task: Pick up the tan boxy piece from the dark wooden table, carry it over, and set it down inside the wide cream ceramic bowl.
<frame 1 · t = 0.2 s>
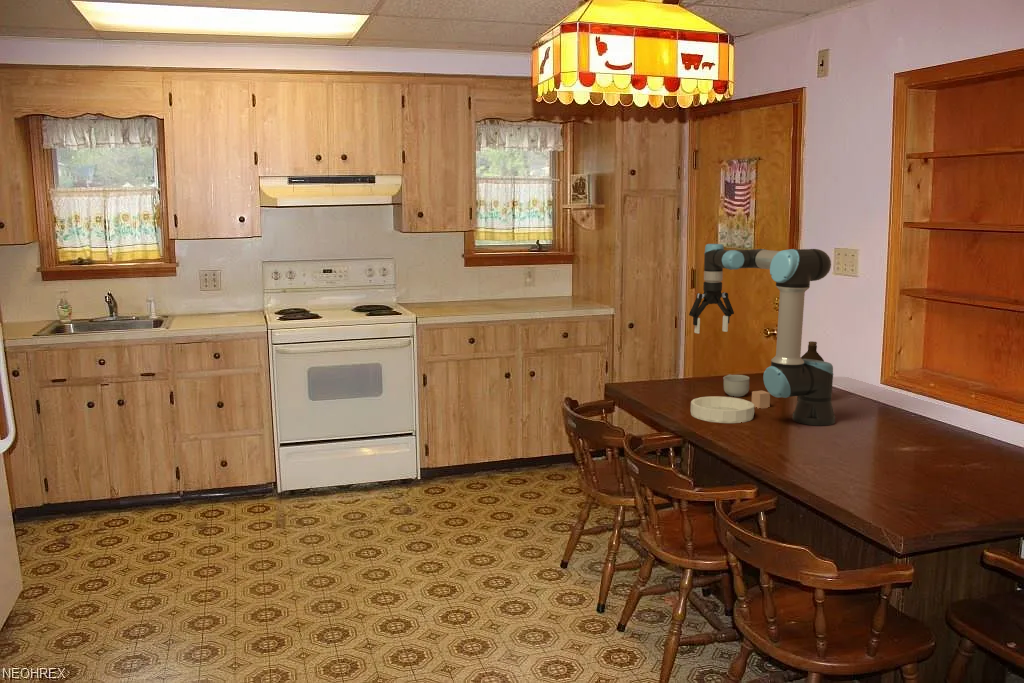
hand: (710, 332, 364), 27 cm above the table, fingers open, 13 cm apart
bowl: (721, 415, 337), on the table
tan boxy piece: (760, 406, 351), on the table
olive oil: (809, 402, 359), on the table
teacup: (734, 394, 373), on the table
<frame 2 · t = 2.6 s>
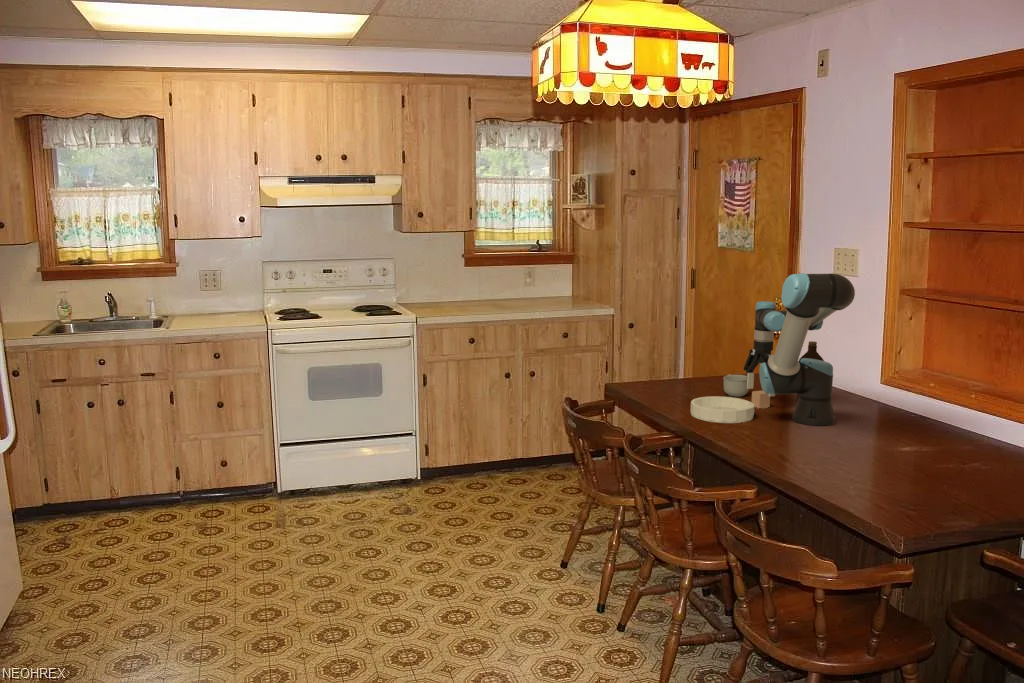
hand: (760, 392, 351), 6 cm above the table, fingers open, 13 cm apart
nothing on the table moved.
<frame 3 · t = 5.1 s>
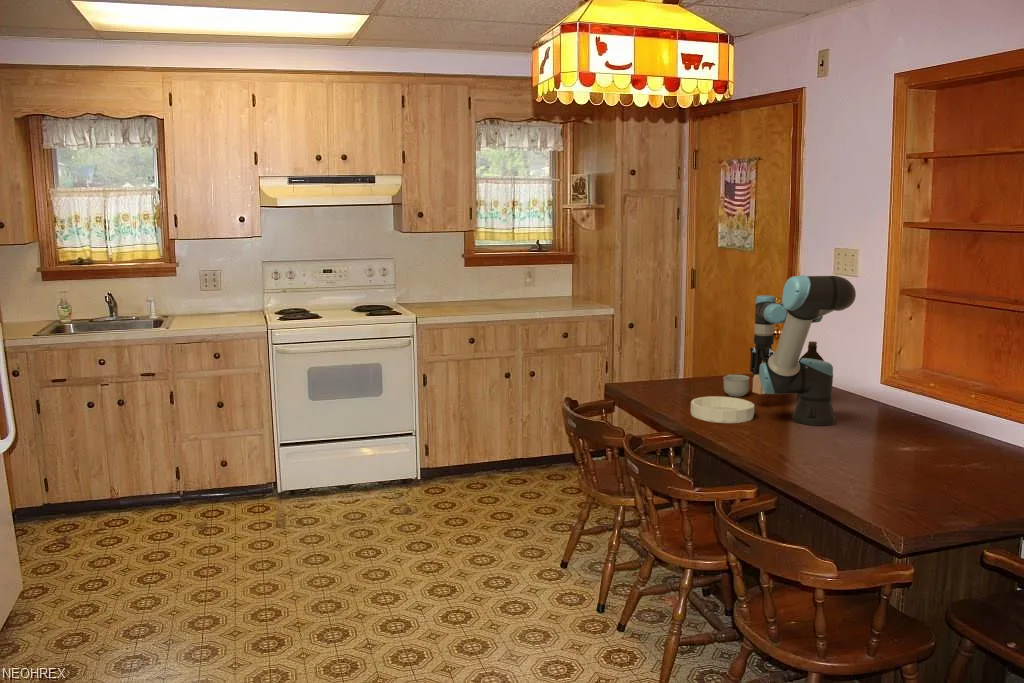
hand: (761, 391, 350), 6 cm above the table, fingers closed on tan boxy piece, 5 cm apart
tan boxy piece: (761, 392, 350), point 6 cm above the table, touching gripper
everything else where it was.
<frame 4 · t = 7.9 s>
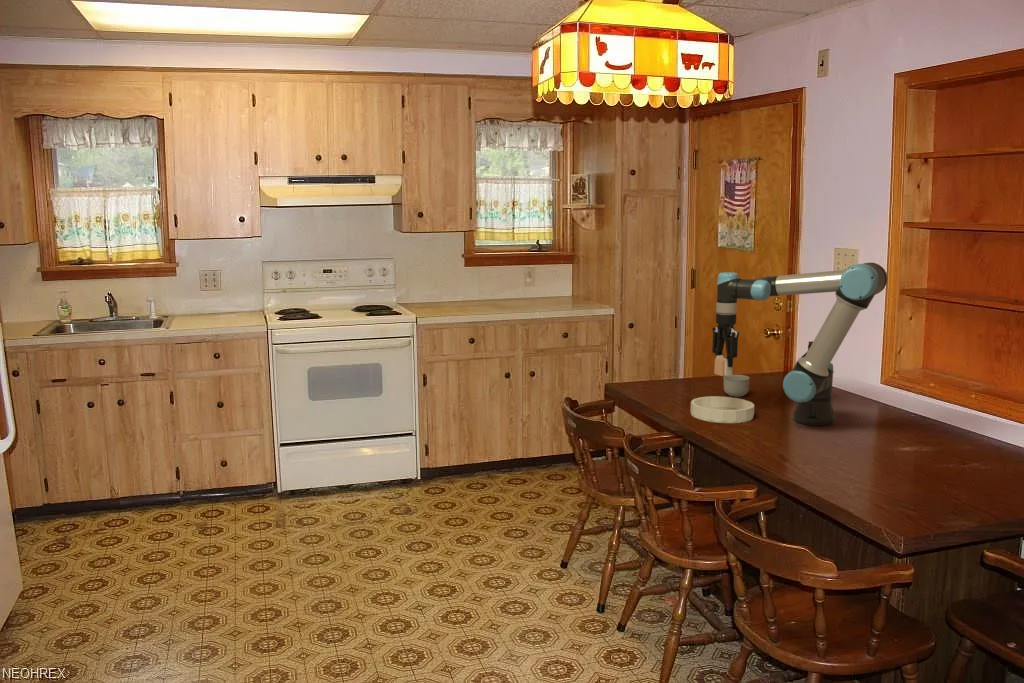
hand: (723, 373, 334), 16 cm above the table, fingers closed on tan boxy piece, 5 cm apart
tan boxy piece: (723, 374, 334), point 16 cm above the table, touching gripper
everything else where it was.
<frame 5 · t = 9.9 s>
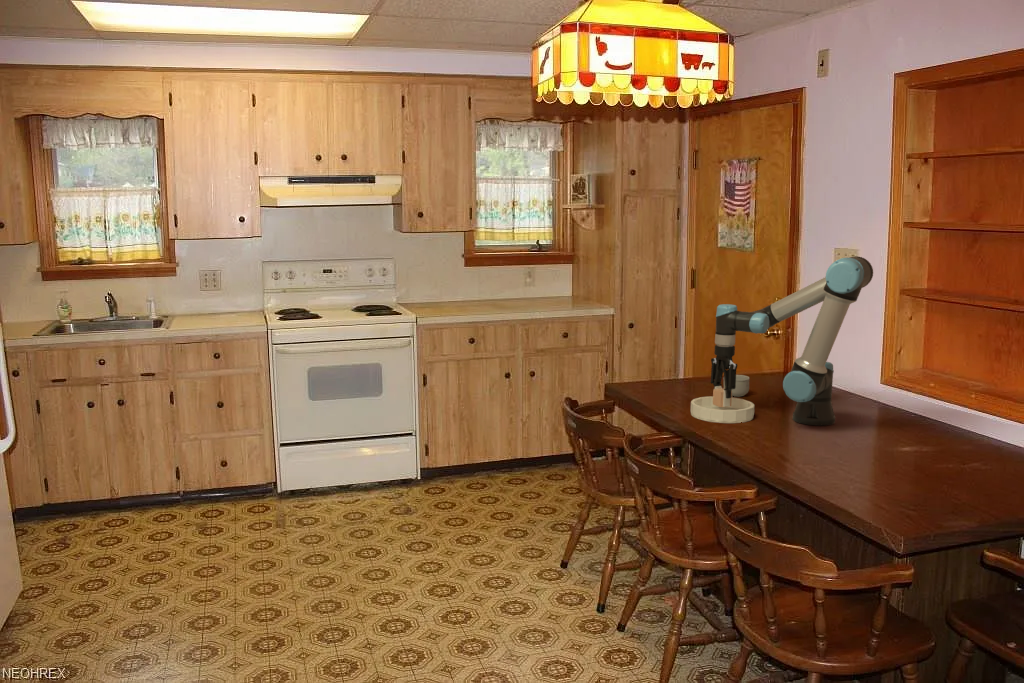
hand: (721, 404, 336), 4 cm above the table, fingers closed on tan boxy piece, 5 cm apart
tan boxy piece: (721, 405, 336), point 4 cm above the table, touching gripper
everything else where it was.
when the fingers open (2 cm above the table, at t = 11.2 s): tan boxy piece stays where it is, resting on bowl.
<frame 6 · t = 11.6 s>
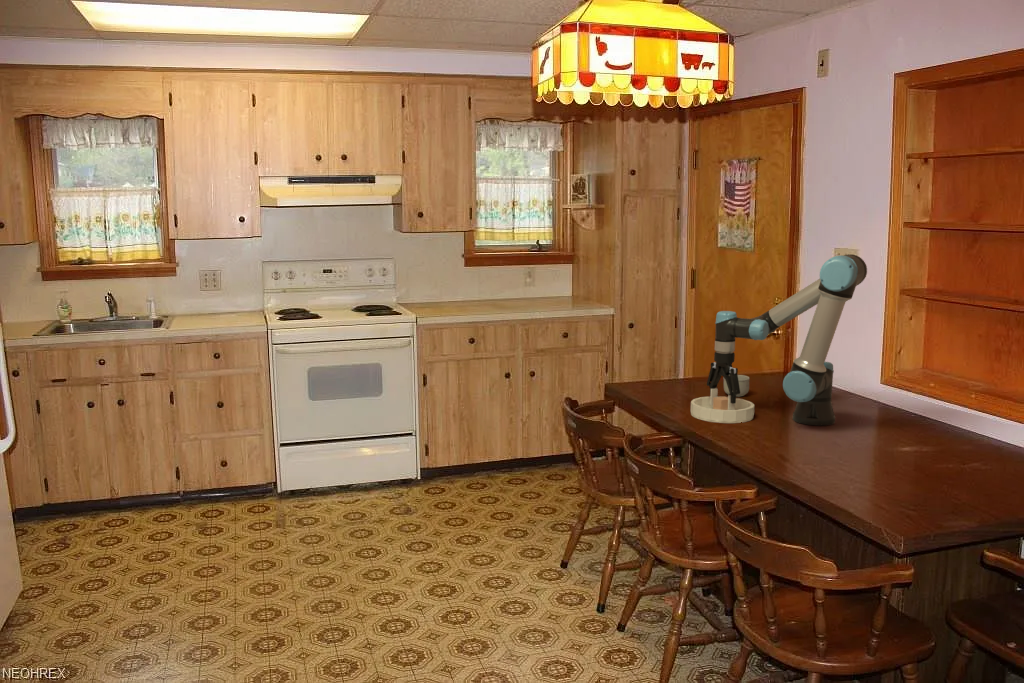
hand: (722, 408, 336), 3 cm above the table, fingers open, 10 cm apart
tan boxy piece: (722, 413, 337), point 1 cm above the table, touching bowl
everything else where it was.
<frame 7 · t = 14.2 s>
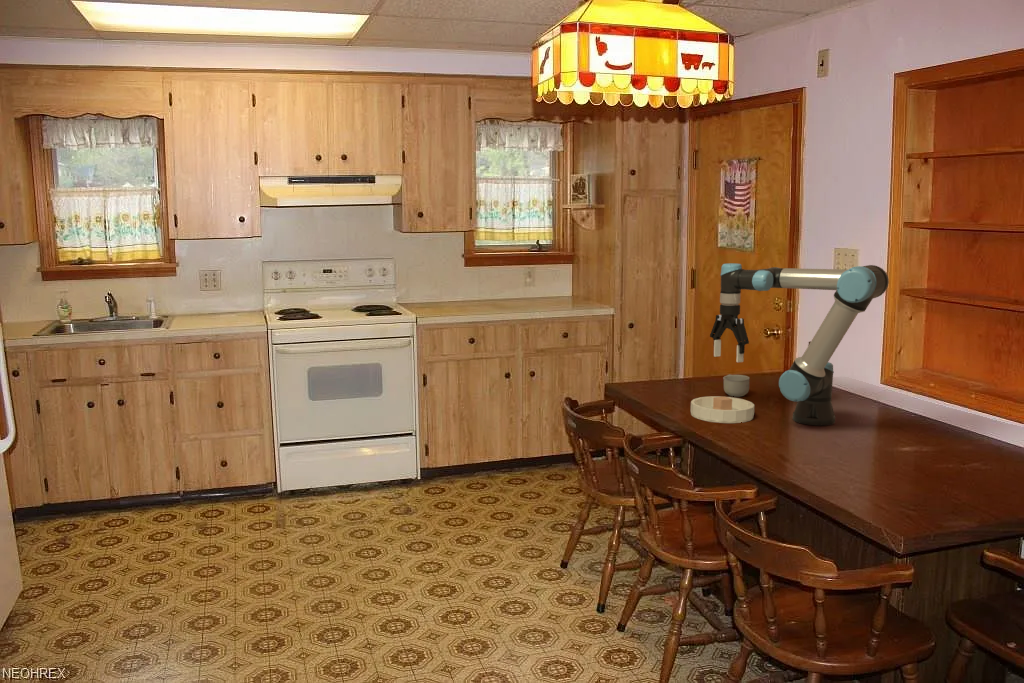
hand: (728, 359, 335), 22 cm above the table, fingers open, 13 cm apart
nothing on the table moved.
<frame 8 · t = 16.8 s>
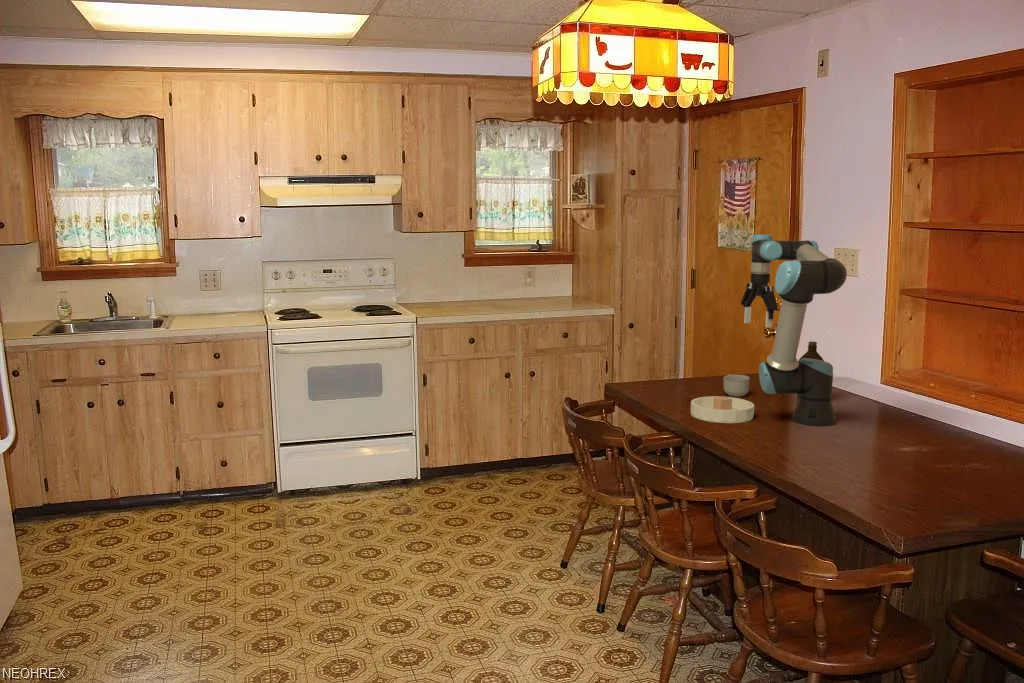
hand: (757, 325, 356), 32 cm above the table, fingers open, 13 cm apart
nothing on the table moved.
at the end: tan boxy piece inside the target area on the bowl (0.1 cm from its centre), point 0.8 cm above the bowl's base; tan boxy piece tilted 0°; the gripper is holding nothing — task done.
